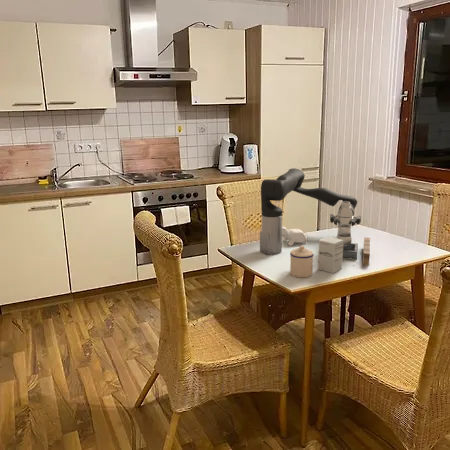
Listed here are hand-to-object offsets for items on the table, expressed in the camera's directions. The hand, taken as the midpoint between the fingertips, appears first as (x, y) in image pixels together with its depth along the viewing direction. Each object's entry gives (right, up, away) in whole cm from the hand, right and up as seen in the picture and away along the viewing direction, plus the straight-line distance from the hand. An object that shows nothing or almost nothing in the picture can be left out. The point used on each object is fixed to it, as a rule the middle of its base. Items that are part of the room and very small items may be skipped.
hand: (344, 223), depth 197 cm
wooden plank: (+10, -14, +3) cm, 18 cm away
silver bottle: (+1, -10, +5) cm, 11 cm away
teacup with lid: (-22, -20, -16) cm, 34 cm away
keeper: (+1, -14, +6) cm, 15 cm away
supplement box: (-9, -19, -12) cm, 25 cm away
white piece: (-20, -10, +23) cm, 32 cm away
